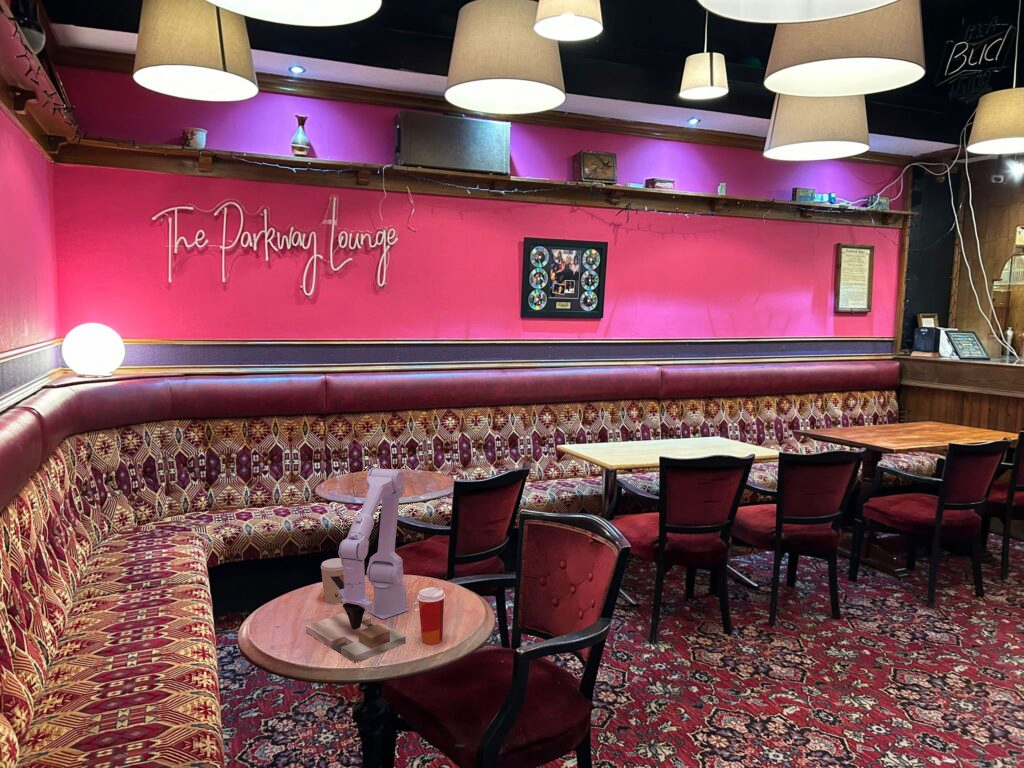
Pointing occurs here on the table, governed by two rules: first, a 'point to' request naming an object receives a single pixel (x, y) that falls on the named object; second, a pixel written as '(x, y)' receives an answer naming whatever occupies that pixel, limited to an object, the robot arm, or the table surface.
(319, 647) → the table surface
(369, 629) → the walnut block
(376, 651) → the board
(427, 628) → the paper cup
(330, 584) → the coffee cup
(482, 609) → the table surface
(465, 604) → the table surface
